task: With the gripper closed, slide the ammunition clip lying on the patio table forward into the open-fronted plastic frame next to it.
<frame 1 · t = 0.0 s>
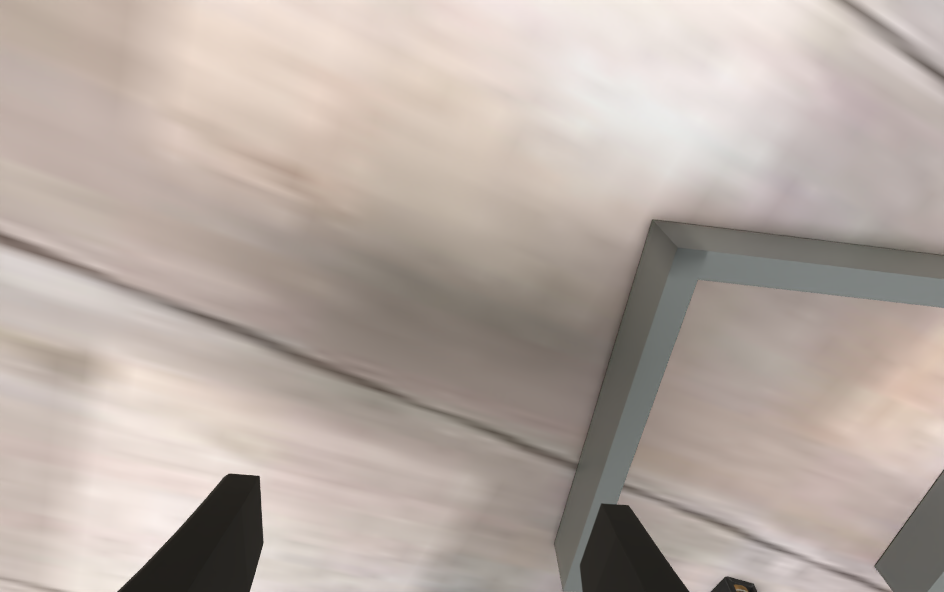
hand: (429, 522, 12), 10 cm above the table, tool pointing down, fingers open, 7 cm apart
frame: (791, 436, 24), on the table
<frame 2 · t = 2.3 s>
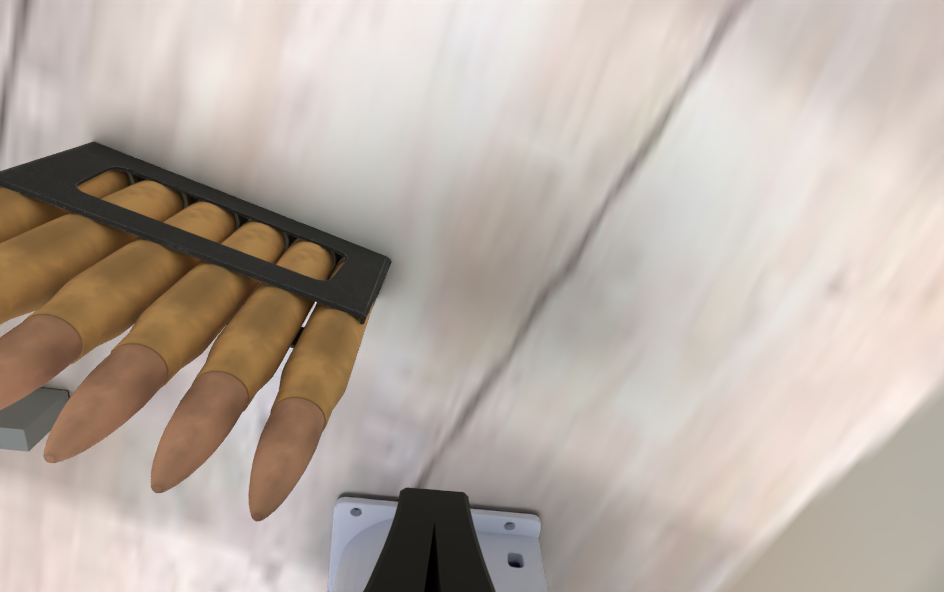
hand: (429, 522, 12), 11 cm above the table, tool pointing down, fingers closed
ammunition clip: (245, 223, 20), on the table
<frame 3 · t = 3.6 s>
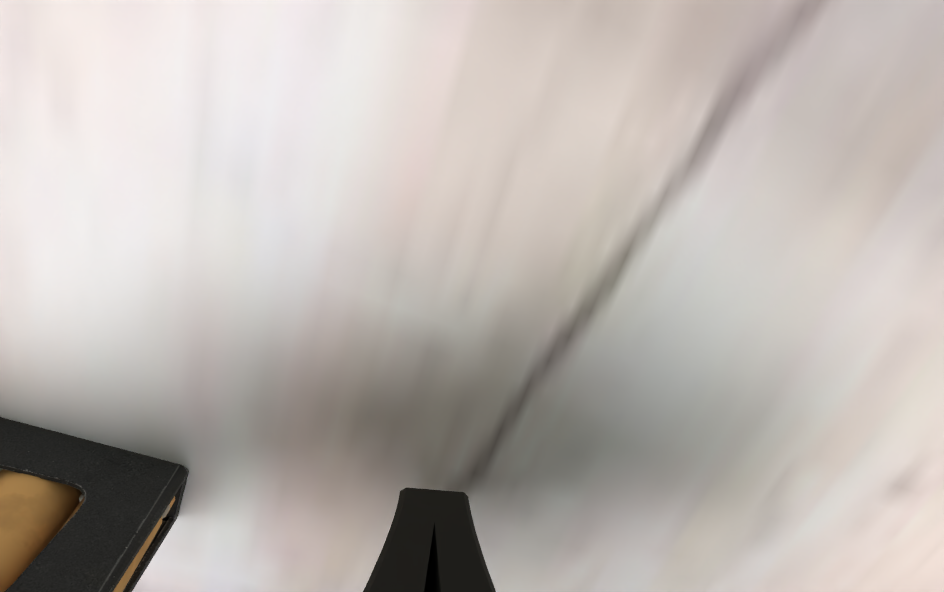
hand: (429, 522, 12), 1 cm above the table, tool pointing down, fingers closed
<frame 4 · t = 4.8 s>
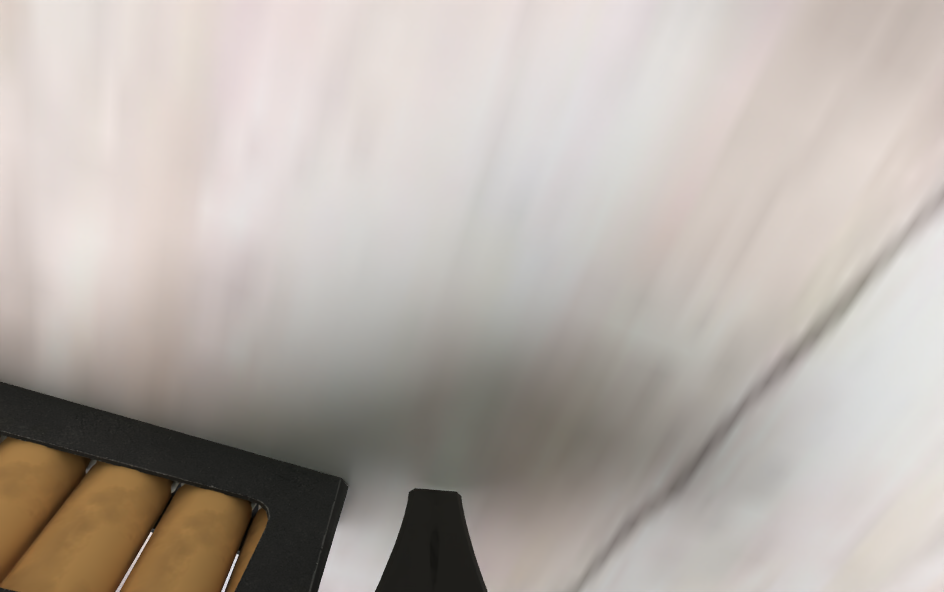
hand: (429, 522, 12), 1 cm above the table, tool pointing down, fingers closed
ammunition clip: (114, 436, 13), on the table, touching gripper
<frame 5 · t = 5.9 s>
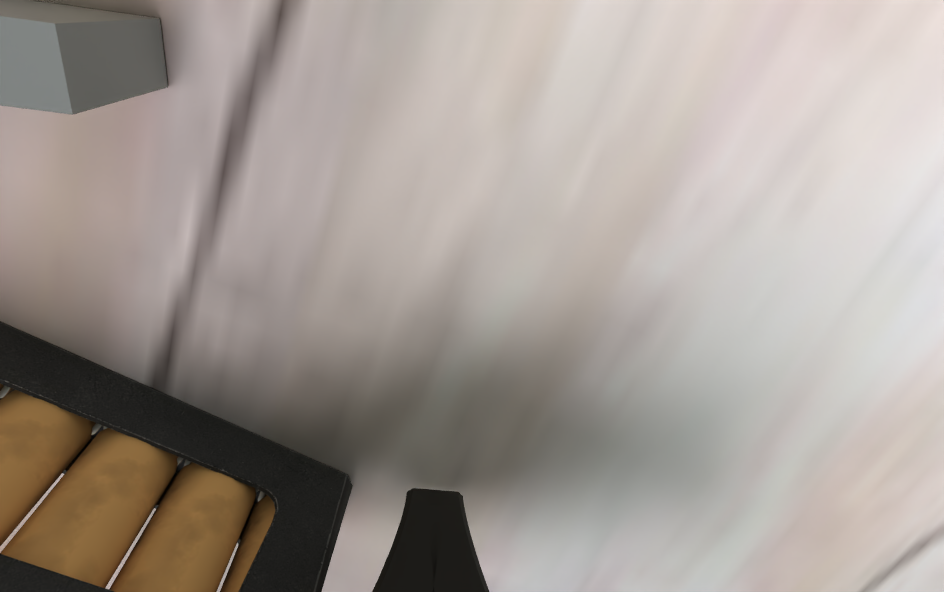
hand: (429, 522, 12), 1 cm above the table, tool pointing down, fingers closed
ammunition clip: (120, 401, 12), on the table, touching gripper
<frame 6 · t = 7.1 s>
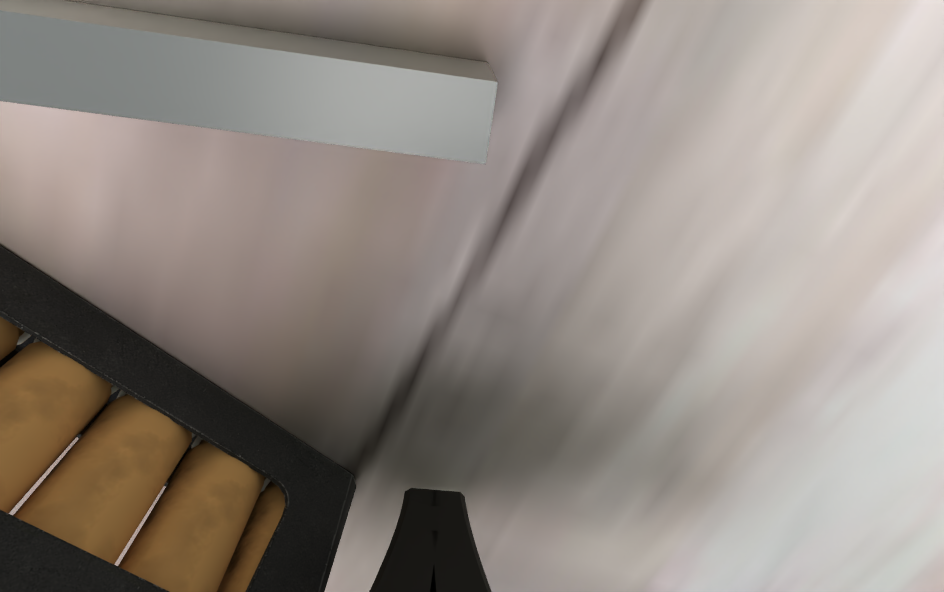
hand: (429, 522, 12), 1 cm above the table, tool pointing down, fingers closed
frame: (72, 443, 12), on the table
ammunition clip: (137, 365, 12), on the table, touching gripper
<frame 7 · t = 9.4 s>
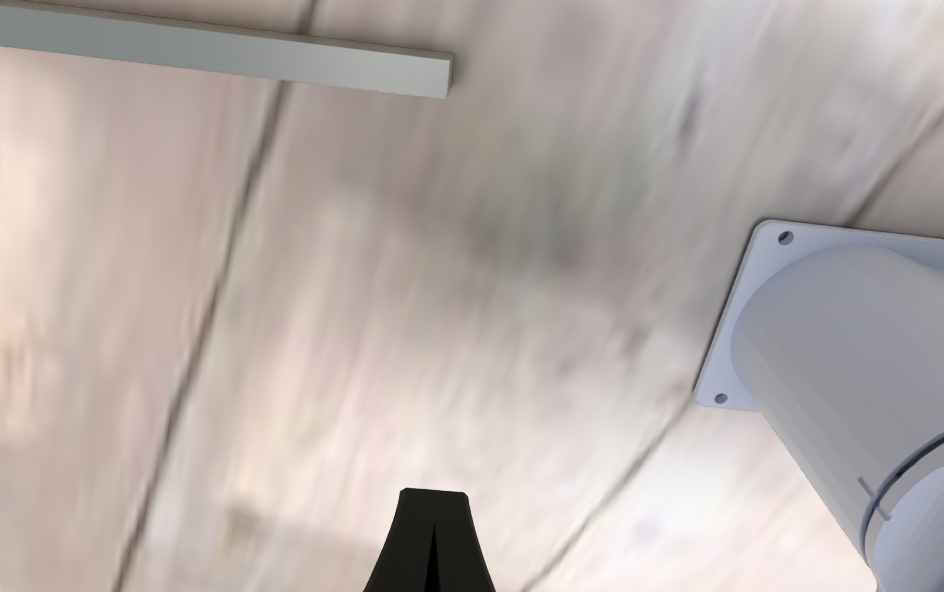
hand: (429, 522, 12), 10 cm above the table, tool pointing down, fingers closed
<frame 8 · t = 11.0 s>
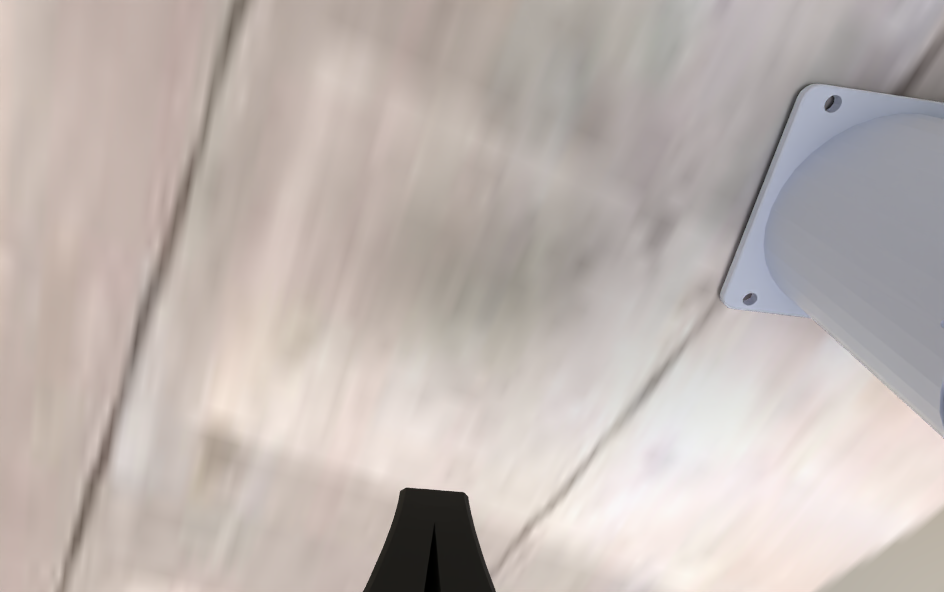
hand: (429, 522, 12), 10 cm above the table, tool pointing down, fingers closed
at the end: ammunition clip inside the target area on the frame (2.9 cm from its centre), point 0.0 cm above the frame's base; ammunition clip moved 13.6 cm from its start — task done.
